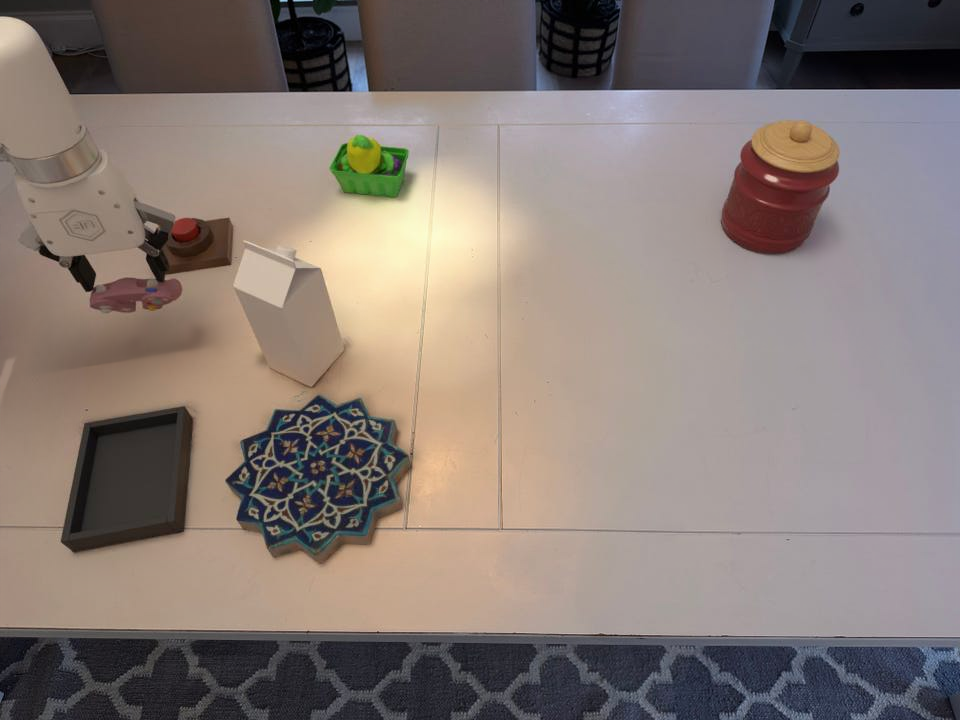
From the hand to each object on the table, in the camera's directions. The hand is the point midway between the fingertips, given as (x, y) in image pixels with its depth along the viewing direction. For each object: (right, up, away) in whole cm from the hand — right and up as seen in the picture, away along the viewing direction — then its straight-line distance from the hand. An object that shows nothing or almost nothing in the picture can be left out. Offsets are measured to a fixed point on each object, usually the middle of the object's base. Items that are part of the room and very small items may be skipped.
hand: (127, 278), depth 81 cm
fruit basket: (+25, +18, +29) cm, 43 cm away
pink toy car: (0, -3, +4) cm, 5 cm away
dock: (+3, -24, -4) cm, 24 cm away
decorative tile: (+24, -23, -4) cm, 34 cm away
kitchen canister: (+86, +10, +21) cm, 89 cm away
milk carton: (+20, -10, +7) cm, 23 cm away
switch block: (-1, +7, +21) cm, 22 cm away
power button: (-1, +9, +18) cm, 20 cm away
